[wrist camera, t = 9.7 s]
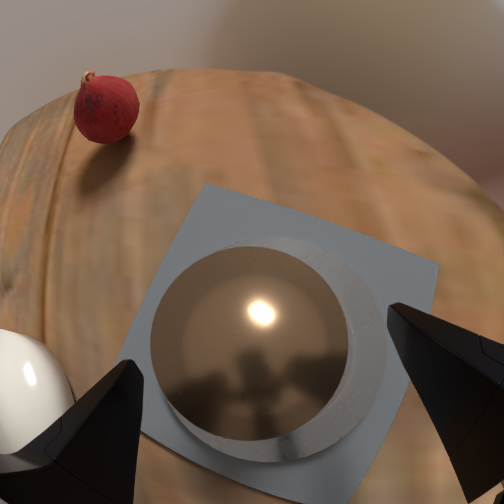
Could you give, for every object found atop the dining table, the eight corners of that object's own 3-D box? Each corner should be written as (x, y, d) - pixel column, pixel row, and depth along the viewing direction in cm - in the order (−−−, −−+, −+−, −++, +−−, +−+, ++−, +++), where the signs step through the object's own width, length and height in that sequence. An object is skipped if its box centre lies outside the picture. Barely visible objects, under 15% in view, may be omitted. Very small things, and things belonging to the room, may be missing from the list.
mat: (339, 507, 10) (340, 511, 10) (105, 400, 14) (100, 401, 14) (435, 267, 15) (439, 264, 14) (207, 188, 19) (205, 183, 18)
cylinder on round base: (259, 491, 11) (227, 595, 3) (127, 335, 15) (8, 302, 7) (420, 347, 13) (535, 322, 5) (276, 206, 17) (262, 83, 9)
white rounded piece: (70, 490, 12) (38, 502, 8) (-2, 408, 14) (-32, 407, 11) (102, 390, 15) (62, 392, 11) (22, 313, 17) (-12, 302, 14)
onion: (147, 151, 21) (102, 81, 14) (92, 168, 22) (44, 110, 14) (156, 109, 23) (124, 45, 16) (106, 125, 24) (70, 70, 17)
